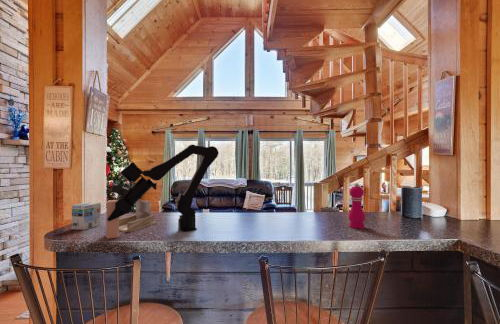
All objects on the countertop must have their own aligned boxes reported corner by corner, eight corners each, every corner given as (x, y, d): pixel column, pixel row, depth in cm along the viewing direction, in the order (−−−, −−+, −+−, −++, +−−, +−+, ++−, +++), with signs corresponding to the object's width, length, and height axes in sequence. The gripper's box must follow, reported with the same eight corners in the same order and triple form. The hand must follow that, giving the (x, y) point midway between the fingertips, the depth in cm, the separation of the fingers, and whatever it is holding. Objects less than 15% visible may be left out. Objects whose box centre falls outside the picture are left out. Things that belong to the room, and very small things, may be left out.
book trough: (156, 223, 137) (156, 201, 137) (131, 232, 120) (131, 206, 120) (134, 221, 140) (134, 200, 140) (107, 230, 123) (107, 205, 123)
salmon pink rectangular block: (119, 233, 117) (119, 199, 117) (117, 237, 111) (117, 201, 111) (108, 234, 116) (108, 200, 116) (106, 238, 110) (106, 202, 110)
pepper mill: (347, 228, 126) (347, 183, 126) (348, 224, 133) (348, 182, 133) (365, 229, 123) (365, 183, 123) (365, 226, 130) (365, 182, 130)
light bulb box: (84, 230, 123) (83, 205, 123) (70, 229, 125) (70, 205, 125) (101, 224, 134) (101, 202, 134) (89, 224, 135) (89, 201, 135)
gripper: (124, 175, 124) (96, 202, 120) (122, 177, 106) (88, 208, 102) (144, 192, 126) (117, 219, 123) (144, 197, 109) (112, 228, 105)
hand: (109, 218), depth 113 cm, fingers closed on salmon pink rectangular block, 6 cm apart
